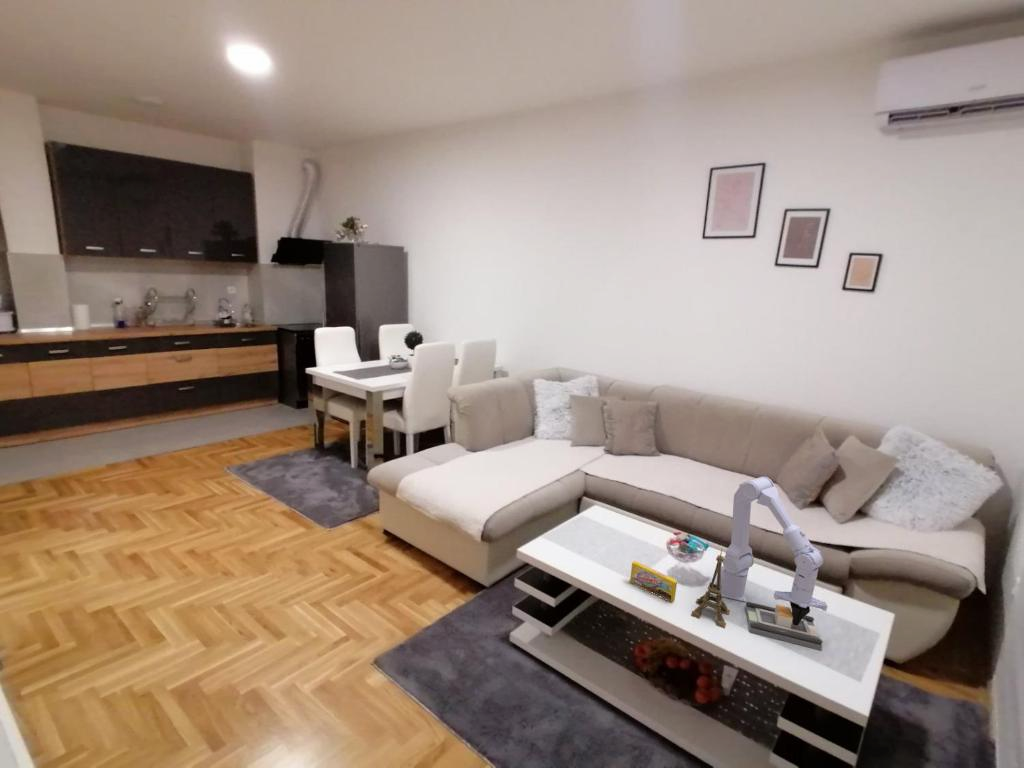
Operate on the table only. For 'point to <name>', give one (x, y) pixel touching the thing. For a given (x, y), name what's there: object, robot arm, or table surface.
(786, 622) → the orange-faced white block
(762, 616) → the panel
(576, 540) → the table surface
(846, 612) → the table surface
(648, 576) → the candy box
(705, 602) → the eiffel tower
